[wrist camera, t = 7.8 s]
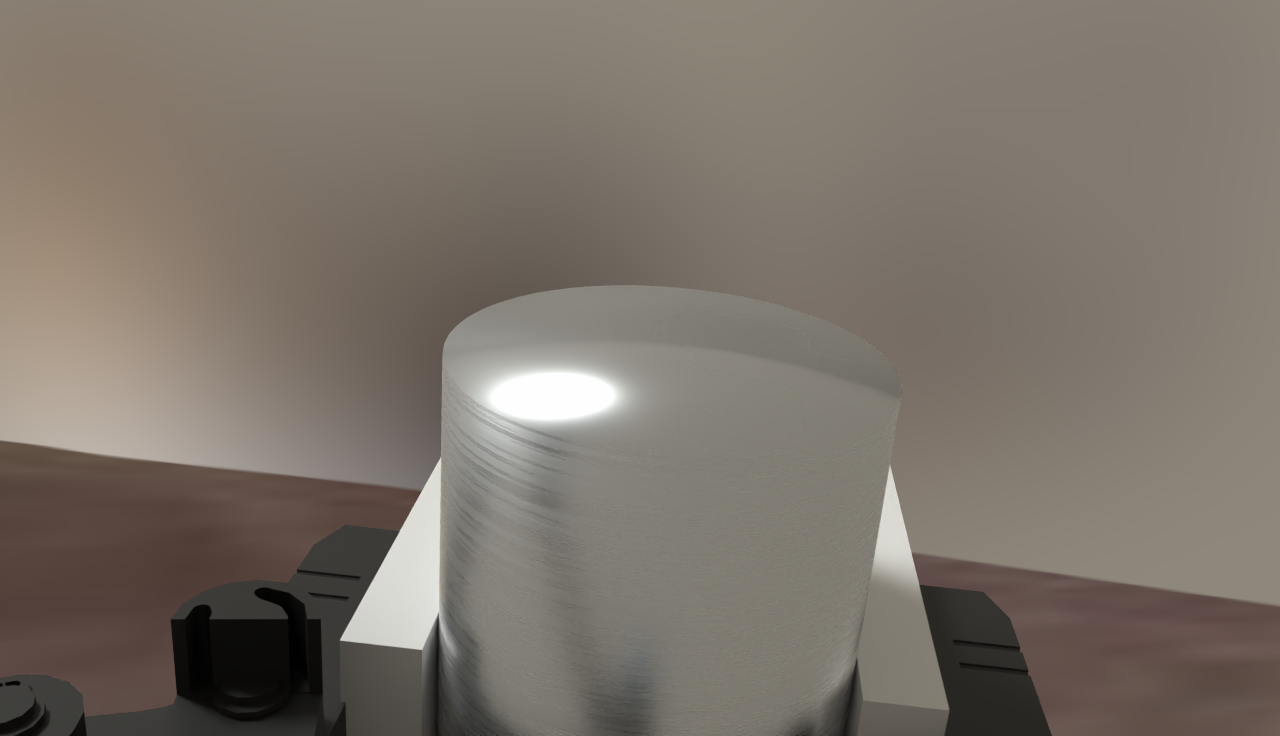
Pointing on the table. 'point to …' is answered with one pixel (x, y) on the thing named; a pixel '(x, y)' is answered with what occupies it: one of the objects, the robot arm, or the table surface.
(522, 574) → the roller
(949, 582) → the table surface
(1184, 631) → the table surface
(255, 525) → the table surface
